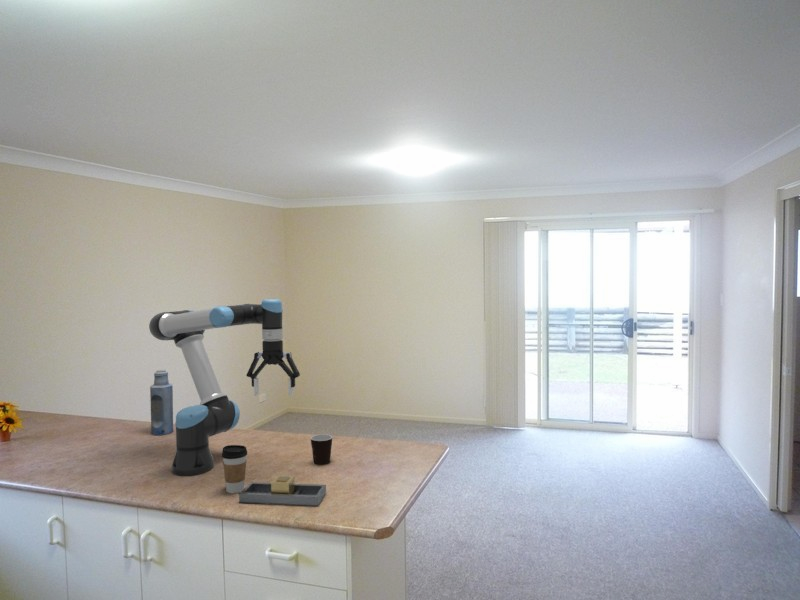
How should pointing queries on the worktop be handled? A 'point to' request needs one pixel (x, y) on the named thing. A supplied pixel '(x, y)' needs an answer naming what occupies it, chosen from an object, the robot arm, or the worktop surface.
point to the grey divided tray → (283, 495)
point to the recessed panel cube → (283, 485)
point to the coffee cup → (234, 467)
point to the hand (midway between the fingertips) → (273, 395)
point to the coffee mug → (321, 448)
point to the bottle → (161, 404)
